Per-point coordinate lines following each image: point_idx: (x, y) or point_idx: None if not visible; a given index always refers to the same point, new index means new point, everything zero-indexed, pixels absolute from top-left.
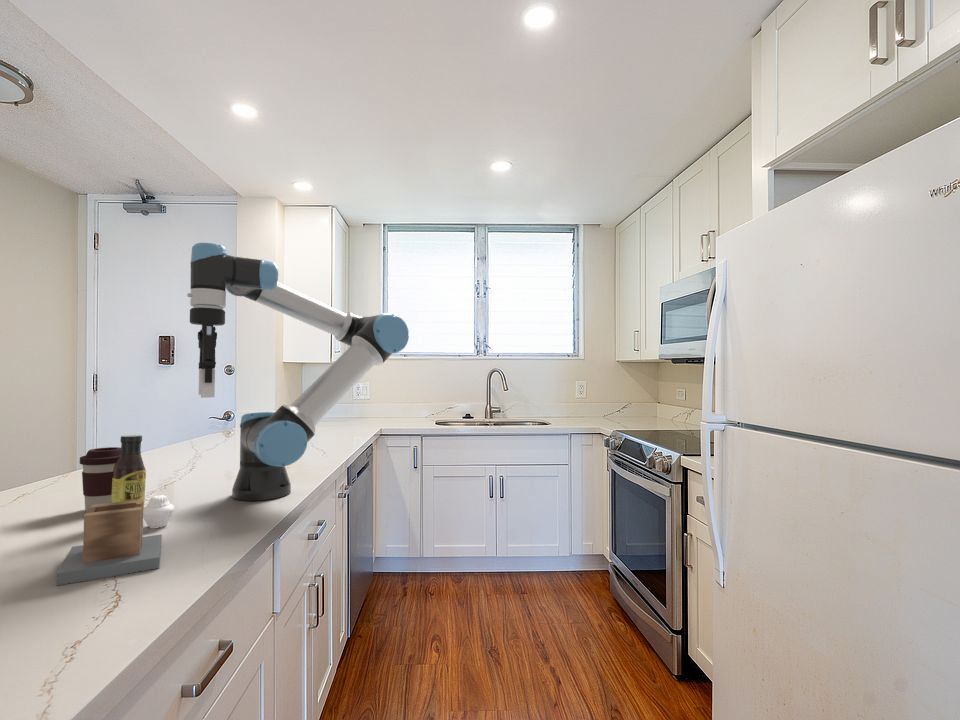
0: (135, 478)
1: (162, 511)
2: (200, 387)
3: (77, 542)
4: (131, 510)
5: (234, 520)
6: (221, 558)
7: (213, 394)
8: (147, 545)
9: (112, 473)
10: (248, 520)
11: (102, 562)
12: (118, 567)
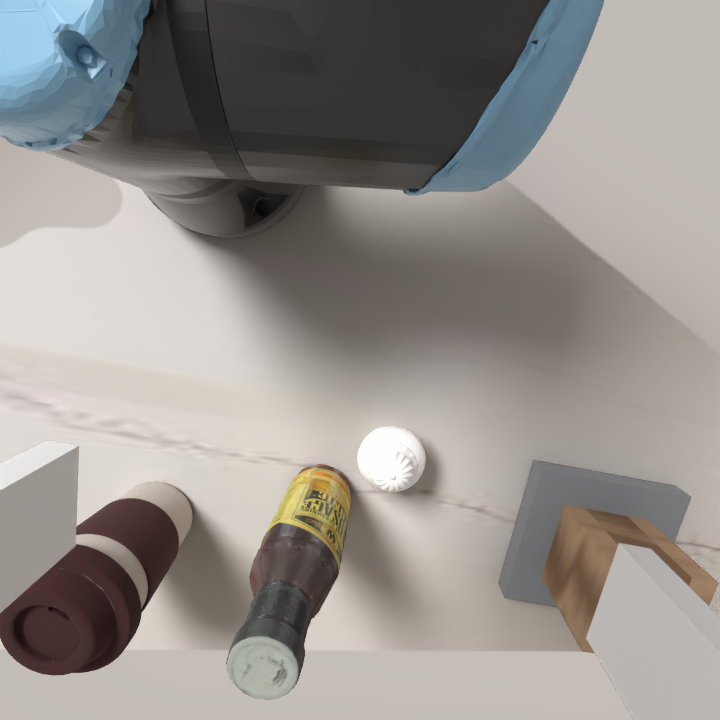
0: (338, 547)
1: (424, 458)
2: (8, 589)
3: (405, 570)
4: (709, 597)
5: (461, 297)
6: (711, 390)
7: (667, 576)
8: (600, 501)
9: (149, 566)
10: (486, 269)
11: None
12: None
